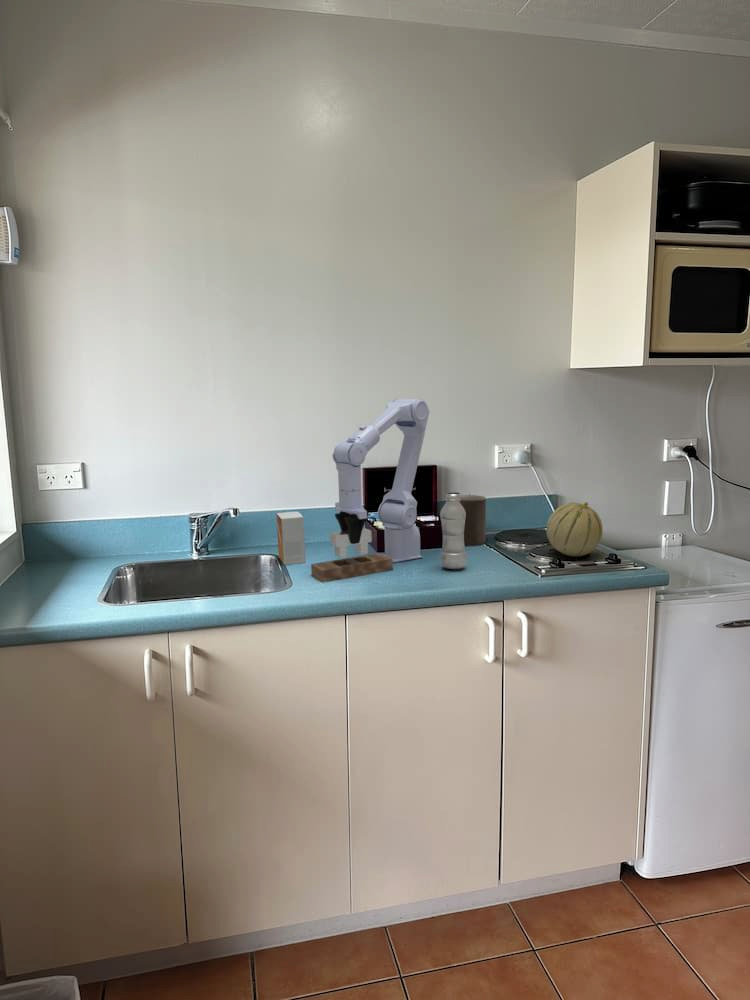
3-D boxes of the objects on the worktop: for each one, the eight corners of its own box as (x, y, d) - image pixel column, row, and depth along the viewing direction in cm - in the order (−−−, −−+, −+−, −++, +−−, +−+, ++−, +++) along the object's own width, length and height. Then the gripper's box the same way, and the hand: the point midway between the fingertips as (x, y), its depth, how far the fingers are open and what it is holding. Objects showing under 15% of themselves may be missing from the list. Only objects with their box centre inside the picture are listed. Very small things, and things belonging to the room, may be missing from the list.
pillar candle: (470, 547, 204) (471, 497, 201) (446, 542, 211) (446, 492, 209) (492, 542, 210) (493, 493, 208) (467, 536, 218) (468, 489, 215)
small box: (278, 558, 198) (276, 512, 196) (300, 555, 200) (298, 511, 198) (283, 565, 191) (280, 518, 188) (306, 562, 193) (304, 516, 190)
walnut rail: (380, 563, 190) (379, 553, 189) (392, 569, 184) (392, 558, 183) (311, 575, 181) (311, 564, 180) (322, 582, 175) (322, 570, 174)
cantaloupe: (541, 548, 201) (542, 497, 198) (593, 548, 200) (595, 496, 198) (552, 563, 186) (553, 507, 184) (608, 562, 186) (610, 506, 183)
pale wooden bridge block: (365, 550, 185) (365, 528, 184) (371, 553, 182) (371, 530, 181) (330, 555, 180) (330, 532, 179) (336, 558, 177) (336, 535, 176)
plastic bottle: (465, 572, 180) (465, 495, 176) (439, 571, 181) (438, 495, 177) (467, 565, 186) (467, 491, 182) (442, 564, 187) (441, 490, 184)
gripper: (323, 487, 183) (325, 538, 185) (348, 495, 170) (349, 549, 173) (348, 484, 186) (349, 534, 188) (373, 492, 173) (375, 545, 176)
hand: (351, 541), depth 181 cm, fingers closed on pale wooden bridge block, 4 cm apart
